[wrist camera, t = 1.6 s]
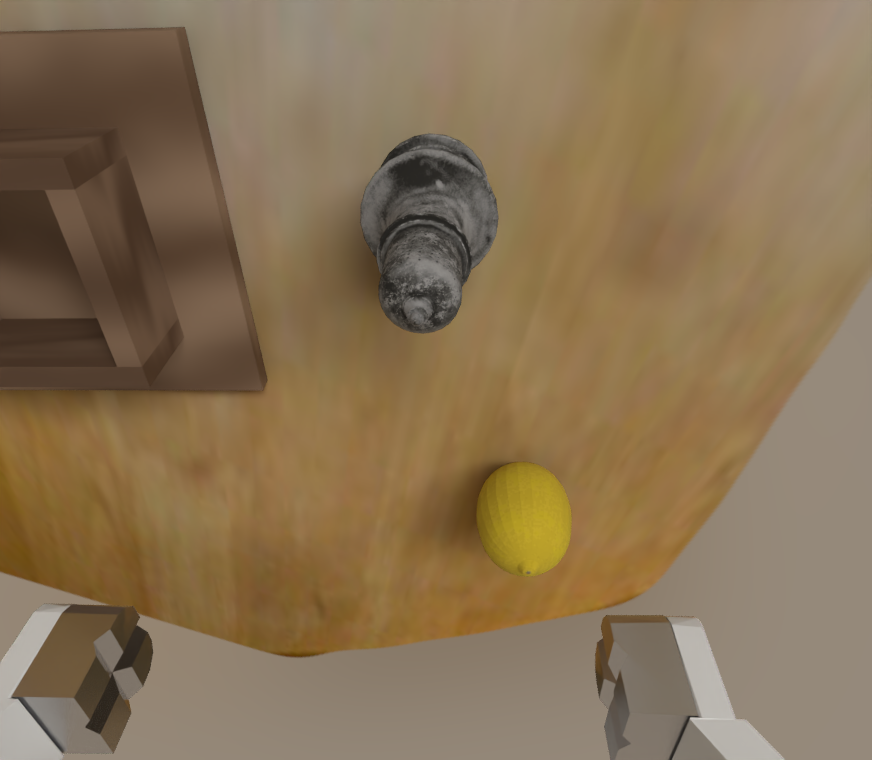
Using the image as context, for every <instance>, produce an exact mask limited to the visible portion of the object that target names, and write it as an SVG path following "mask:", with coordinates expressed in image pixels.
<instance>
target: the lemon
mask: <svg viewBox="0 0 872 760" xmlns="http://www.w3.org/2000/svg"><path fill="white" fill-rule="evenodd" d="M476 520H477V527H478V531H479V535H480V538H481V541H482V544H483V547H484V549H485V551H486V553H487V554H488V556H489V557H490V558H491V560H492V561H493V562H494V563H495V564H496V565H497V566H499V567H500V568H501V569H503V570H504V571H507V572H509V573H511V574H513V575H518V576H526V577H528V576H536V575H540V574H543V573H545V572H547V571H549V570H550V569H552V568H553V567H554V566H556V565H557V564H558V563H559V561H560V560H561V559H562V558H563V556H564V555H565V552H566V550H567V548H568V545H569V542H570V537H571V521H572V518H571V508H570V504H569V501H568V498H567V495H566V493H565V490H564V488H563V486H562V485H561V483H560V482H559V481H558V480H557V479H556V477H555V476H554V475H553V474H552V473H551V472H549V471H548V470H547V469H545V468H544V467H542V466H539V465H537V464H534V463H529V462H514V463H509V464H506V465H504V466H502V467H500V468H499V469H497V470H496V471H494V472H493V473H492V474H491V475H490V476H489V477H488V478H487V480H486V481H485V482H484V484H483V486H482V489H481V491H480V494H479V496H478V501H477V512H476Z"/></svg>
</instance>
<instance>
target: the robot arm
mask: <svg viewBox="0 0 872 760" xmlns="http://www.w3.org/2000/svg"><path fill="white" fill-rule="evenodd" d="M139 618H140V616H139V615H138V613H137V611H136V610H135V608H134V606H111V605H77V604H43V605H42V606H41V607H39V608H38V609H37V610H36V611H34V613H33V614H32V615H31V617H30V618H29V620H28V621H27V623H26V624H25V626H24V627H23V629H22V630H21V632H20V633H19V635H18V636H17V638H16V639H15V641H14V643H13V644H12V646H11V647H10V649H9V650H8V652H7V653H6V655H5V656H4V658H3V659H2V661H1V662H0V760H61V759H62V758H63V757H64V755H63V753H81V754H85V753H86V754H87V753H88V754H93V753H94V754H95V753H96V754H100V753H101V754H109V753H110V754H111V753H112V754H113V753H114V751H115V749H116V747H117V744H118V742H119V740H120V738H121V736H122V733H123V731H124V729H125V726H126V724H127V722H128V720H129V717H130V715H131V709H130V704H129V700H128V699H130V698H131V697H132V696H133V695H134V694H135V693H136V692H137V691H138V690H140V689H141V688H142V687H143V685H144V683H145V681H146V678H147V676H148V673H149V671H150V667H151V661H152V655H153V648H152V640H151V638H150V636H149V634H148V632H147V631H145V630H143V629H142V628H140V627H139V626H137V625H136V624H137V622H138V620H139ZM601 630H602V636H603V639H602V640H600V641H599V642H597V648H596V653H595V673H596V681H597V688H598V694H599V699H600V700H601V702H602V703H603V704H604V705H605V706H606V707H607V709H608V714H607V718H606V722H605V726H604V728H605V734H606V739H607V744H608V750H609V755H610V760H785V759H784V758H783V757H782V756H781V755H780V754H779V753H778V752H777V751H776V750H775V749H774V748H773V747H772V746H771V745H770V744H769V743H768V742H767V740H766V739H764V738H763V737H762V735H760V733H759V732H758V731H756V729H755V728H754V727H753V726H752V725H751V724H750V723H749V722H748V721H747V720H746V719H739V718H736V717H735V715H734V712H733V709H732V706H731V703H730V701H729V698H728V695H727V692H726V690H725V687H724V684H723V682H722V678H721V676H720V673H719V670H718V667H717V664H716V662H715V659H714V656H713V653H712V650H711V648H710V645H709V642H708V639H707V637H706V634H705V631H704V628H703V625H702V623H701V622H700V621H699V620H698V618H696V617H693V616H692V617H690V616H663V615H606V616H605V617H604V618H603V620H602V624H601Z"/></svg>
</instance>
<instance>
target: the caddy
mask: <svg viewBox="0 0 872 760" xmlns="http://www.w3.org/2000/svg"><path fill="white" fill-rule="evenodd" d="M266 382H267V376H266V372H265V367H264V363H263V359H262V355H261V350H260V346H259V342H258V338H257V333H256V329H255V325H254V321H253V316H252V312H251V308H250V303H249V299H248V295H247V291H246V286H245V282H244V278H243V274H242V269H241V265H240V261H239V257H238V252H237V248H236V244H235V240H234V235H233V231H232V227H231V223H230V218H229V214H228V210H227V206H226V201H225V197H224V193H223V188H222V184H221V180H220V176H219V171H218V167H217V163H216V159H215V154H214V150H213V146H212V142H211V137H210V133H209V129H208V125H207V120H206V116H205V112H204V108H203V103H202V99H201V95H200V90H199V86H198V82H197V78H196V73H195V69H194V65H193V61H192V56H191V52H190V48H189V44H188V39H187V35H186V31H185V27H178V28H139V29H100V30H61V31H22V32H0V390H263V389H264V387H265V385H266Z"/></svg>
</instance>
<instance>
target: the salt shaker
mask: <svg viewBox="0 0 872 760" xmlns="http://www.w3.org/2000/svg"><path fill="white" fill-rule="evenodd" d="M497 225H498V211H497V203H496V198H495V196H494V194H493V191H492V189H491V187H490V184H489V182H488V181H487V175H486V173H485V170H484V168H483V165H482V163H481V161H480V160H479V159H478V157H477V156H476V155H475V154H474V152H473V151H472V150H471V149H470V148H468V147H467V146H466V145H464V144H463V143H462V142H460V141H459V140H456V139H454V138H451V137H448V136H446V135H439V134H425V135H419V136H414V137H412V138H410V139H408V140H406V141H404V142H402V143H400V144H399V145H398V146H397V147H396V148H394V149H393V150H392V151H391V152H390V153H389V155H388V156H387V158H386V159H385V161H384V162H383V164H382V166H381V168H380V169H379V170H378V171H377V172H376V173H375V174H374V176H373V177H372V179H371V181H370V182H369V184H368V185H367V187H366V189H365V193H364V196H363V199H362V203H361V227H362V230H363V234H364V238H365V241H366V242H367V244H368V246H369V248H370V249H371V251H372V253H373V255H374V256H375V257H376V258H377V264H378V268H379V271H380V273H381V278H380V282H379V299H380V303H381V307H382V309H383V311H384V313H385V314H386V316H387V317H388V318H389V319H390V320H391V321H392V322H393V323H394V324H395V325H397V326H399V327H400V328H402V329H404V330H407V331H410V332H414V333H430V332H434V331H437V330H440V329H442V328H444V327H445V326H446V325H448V324H449V323H450V322H451V321H452V320H453V319H454V317H455V316H456V314H457V312H458V310H459V307H460V305H461V299H462V286H463V285H464V283H465V282H466V281H467V279H468V276H469V274H470V272H471V269H473V268H474V267H475V266H477V265H478V264H479V263H480V262H481V260H482V259H483V258H484V257H485V255H486V254H487V253H488V252H489V250H490V248H491V246H492V243H493V241H494V239H495V236H496V232H497Z"/></svg>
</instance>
